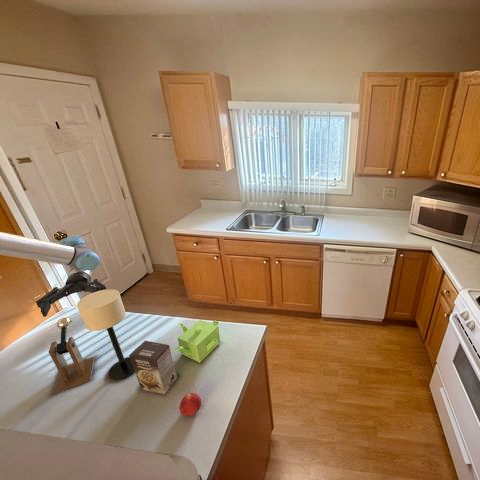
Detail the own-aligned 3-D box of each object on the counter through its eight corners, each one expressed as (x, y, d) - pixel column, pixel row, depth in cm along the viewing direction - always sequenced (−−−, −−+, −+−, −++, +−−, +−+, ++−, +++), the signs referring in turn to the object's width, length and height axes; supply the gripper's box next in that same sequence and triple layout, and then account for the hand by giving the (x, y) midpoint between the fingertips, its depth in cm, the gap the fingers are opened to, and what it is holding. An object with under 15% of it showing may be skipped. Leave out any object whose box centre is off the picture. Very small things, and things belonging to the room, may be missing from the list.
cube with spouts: (179, 372, 90) (173, 348, 85) (180, 343, 102) (175, 321, 97) (224, 358, 96) (220, 336, 91) (220, 333, 108) (217, 312, 103)
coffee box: (140, 391, 83) (127, 355, 76) (155, 374, 89) (144, 339, 82) (165, 396, 82) (154, 360, 75) (178, 378, 88) (169, 344, 81)
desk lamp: (103, 372, 88) (72, 299, 76) (135, 354, 96) (112, 285, 83) (113, 389, 83) (82, 314, 71) (147, 368, 91) (124, 297, 78)
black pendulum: (59, 323, 87) (55, 318, 85) (73, 319, 89) (69, 314, 87) (57, 356, 81) (52, 352, 79) (72, 351, 83) (68, 347, 80)
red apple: (185, 426, 74) (180, 409, 71) (179, 411, 78) (174, 393, 75) (205, 413, 78) (201, 396, 74) (199, 399, 81) (195, 382, 78)
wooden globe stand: (62, 369, 89) (46, 338, 83) (95, 359, 93) (82, 328, 87) (54, 395, 80) (35, 362, 74) (91, 382, 85) (76, 350, 79)
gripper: (117, 279, 117) (114, 304, 101) (42, 295, 104) (24, 327, 88) (113, 265, 114) (109, 289, 98) (34, 280, 101) (15, 310, 85)
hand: (69, 307), depth 93 cm, fingers open, 13 cm apart
